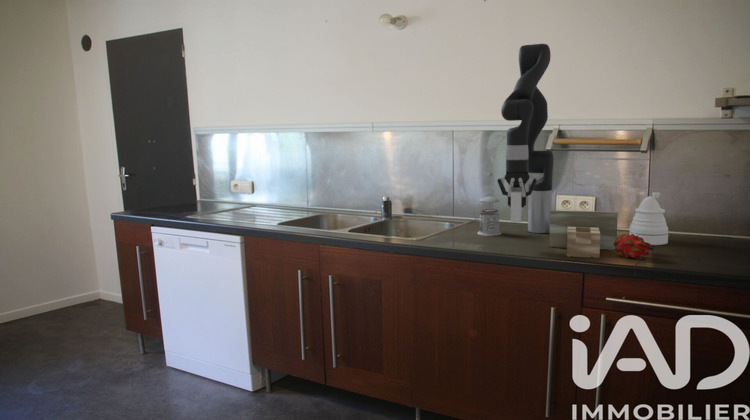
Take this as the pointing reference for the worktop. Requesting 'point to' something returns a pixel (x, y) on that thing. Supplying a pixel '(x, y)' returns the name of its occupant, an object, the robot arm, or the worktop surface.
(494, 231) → the french press
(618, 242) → the dragon fruit
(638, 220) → the honey pot
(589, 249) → the small shelf
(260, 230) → the worktop surface
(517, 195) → the brushed steel bar
